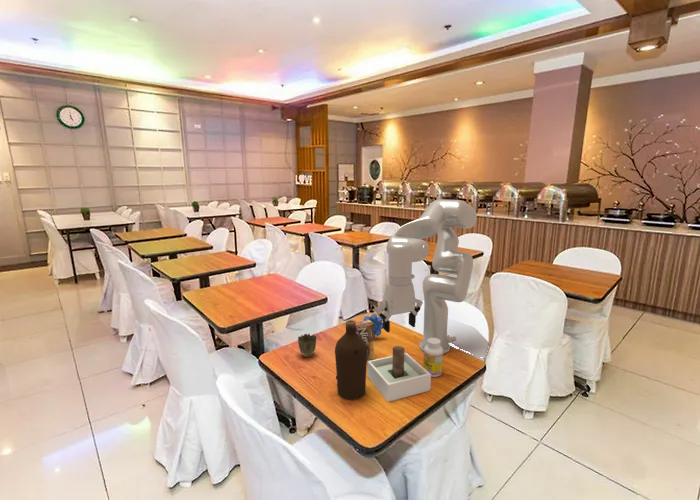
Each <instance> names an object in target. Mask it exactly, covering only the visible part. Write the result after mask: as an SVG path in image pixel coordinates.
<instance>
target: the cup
mask: <svg viewBox="0 0 700 500" xmlns="http://www.w3.org/2000/svg"><path fill="white" fill-rule="evenodd" d="M297 342H298V347H299V351H300V352H301V354H303V357H304V358H311V357H312V356H313V353H314V351H315V350H316V346H317V335H315V334H314V333H313V334H310V333H304V334H303V335H302V334H301V335H300V336H298V337H297Z"/></svg>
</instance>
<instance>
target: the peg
mask: <svg viewBox="0 0 700 500" xmlns="http://www.w3.org/2000/svg"><path fill="white" fill-rule="evenodd" d="M404 353H405V347H403V346H400V345H397V346H396V345H395V346H393V347H392V356H393V361H392V376H393V377H394V378H395V379H396V378H400V377H404Z"/></svg>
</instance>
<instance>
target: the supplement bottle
mask: <svg viewBox="0 0 700 500" xmlns="http://www.w3.org/2000/svg"><path fill="white" fill-rule="evenodd" d="M427 344H428V345H426V346H425V348H424V351H423V365H422V367H423V368H424V369H425V370H427V371H428V372H429V373H430V374H431V378H437V377H439V376H441V375H442V371H443V355H444V354H443V349H442V347H441V346H440V340H439V339H437V338H429V339H427Z"/></svg>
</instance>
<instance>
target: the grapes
mask: <svg viewBox="0 0 700 500" xmlns="http://www.w3.org/2000/svg"><path fill="white" fill-rule="evenodd" d="M365 320H370V321H371V322H373V334H374V339H375V338H376V337H379V336H381V335H382V330H384V329H383V319H382V318H381V317H380V316H378V314H376V313H372V314H371V315H365V316H364V317H363V320H362V321H365Z"/></svg>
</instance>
